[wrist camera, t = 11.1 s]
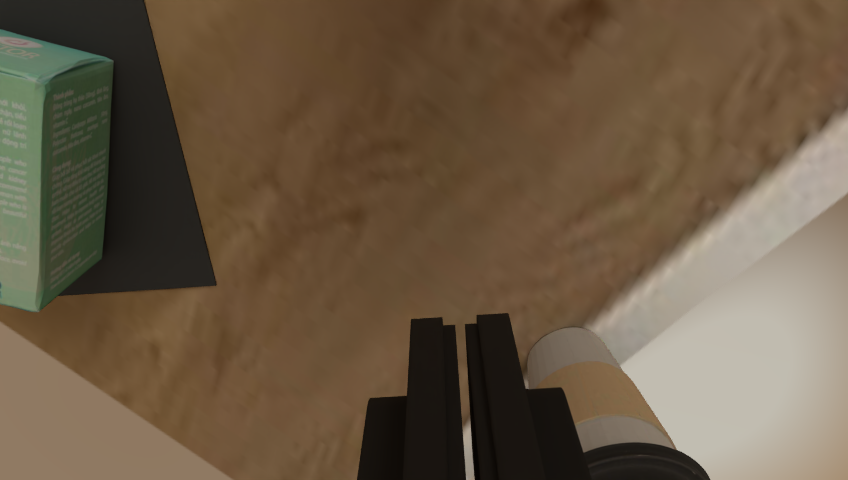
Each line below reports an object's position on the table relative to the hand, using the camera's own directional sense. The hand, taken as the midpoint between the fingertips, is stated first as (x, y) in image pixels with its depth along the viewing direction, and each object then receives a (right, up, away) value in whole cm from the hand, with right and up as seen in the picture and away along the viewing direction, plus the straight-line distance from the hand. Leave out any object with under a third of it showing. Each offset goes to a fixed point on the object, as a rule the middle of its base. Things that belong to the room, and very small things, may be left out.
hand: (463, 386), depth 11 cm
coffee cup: (+10, -6, +33) cm, 35 cm away
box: (-23, +8, +26) cm, 36 cm away
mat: (-22, +8, +26) cm, 35 cm away
